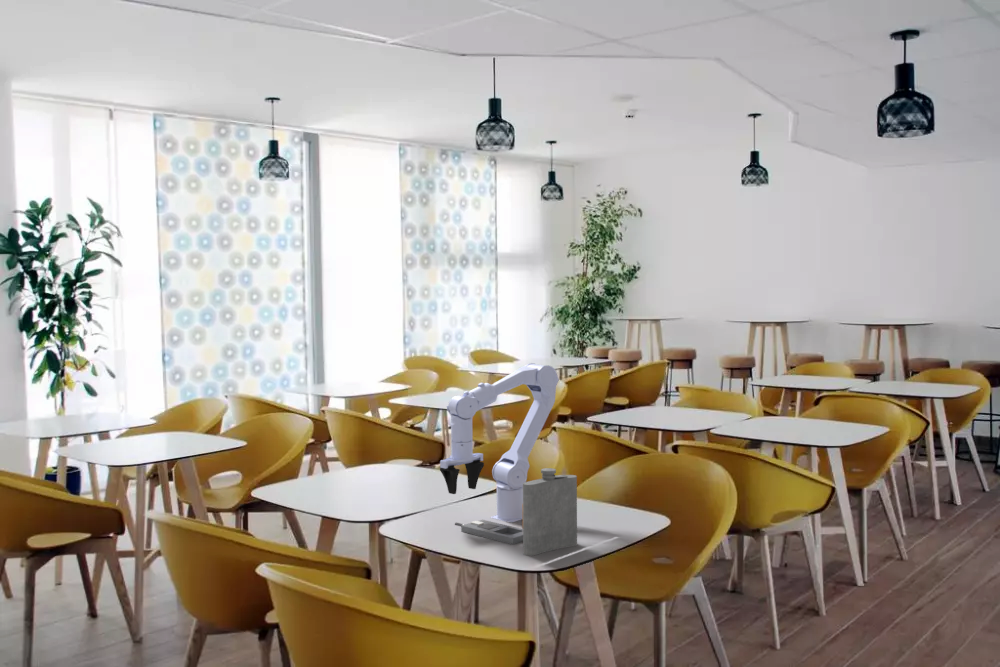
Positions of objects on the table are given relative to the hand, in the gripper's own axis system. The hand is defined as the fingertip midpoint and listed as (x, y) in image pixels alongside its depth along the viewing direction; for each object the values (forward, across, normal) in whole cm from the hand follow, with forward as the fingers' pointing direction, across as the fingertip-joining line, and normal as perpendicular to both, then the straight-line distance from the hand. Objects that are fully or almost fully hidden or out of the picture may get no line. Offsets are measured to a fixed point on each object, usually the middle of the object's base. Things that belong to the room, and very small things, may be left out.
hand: (462, 491), depth 240 cm
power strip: (+10, +1, +11) cm, 14 cm away
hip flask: (+10, +2, +32) cm, 34 cm away
